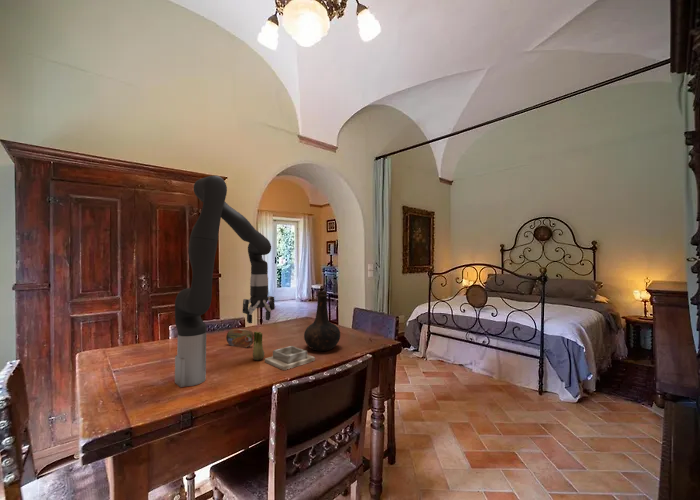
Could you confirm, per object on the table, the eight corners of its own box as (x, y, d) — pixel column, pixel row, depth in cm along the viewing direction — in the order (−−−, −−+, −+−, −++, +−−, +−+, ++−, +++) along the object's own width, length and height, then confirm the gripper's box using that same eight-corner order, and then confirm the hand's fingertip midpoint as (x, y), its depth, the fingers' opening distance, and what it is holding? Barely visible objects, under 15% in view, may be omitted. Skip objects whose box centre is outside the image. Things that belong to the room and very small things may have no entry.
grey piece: (283, 370, 121) (283, 359, 121) (264, 362, 130) (264, 351, 130) (314, 360, 132) (315, 350, 132) (295, 353, 142) (295, 343, 142)
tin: (225, 345, 154) (225, 328, 154) (229, 343, 157) (230, 327, 157) (251, 348, 149) (251, 331, 149) (255, 346, 152) (255, 329, 152)
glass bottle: (323, 356, 138) (324, 294, 138) (296, 349, 148) (296, 291, 149) (347, 347, 152) (348, 291, 152) (321, 341, 163) (321, 288, 163)
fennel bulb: (252, 357, 135) (252, 330, 136) (263, 356, 137) (264, 329, 137) (252, 362, 130) (253, 333, 130) (264, 360, 132) (265, 332, 132)
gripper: (248, 286, 126) (248, 325, 126) (278, 284, 137) (277, 320, 137) (239, 285, 132) (239, 322, 131) (268, 282, 142) (268, 317, 142)
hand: (259, 321), depth 134 cm, fingers open, 8 cm apart
